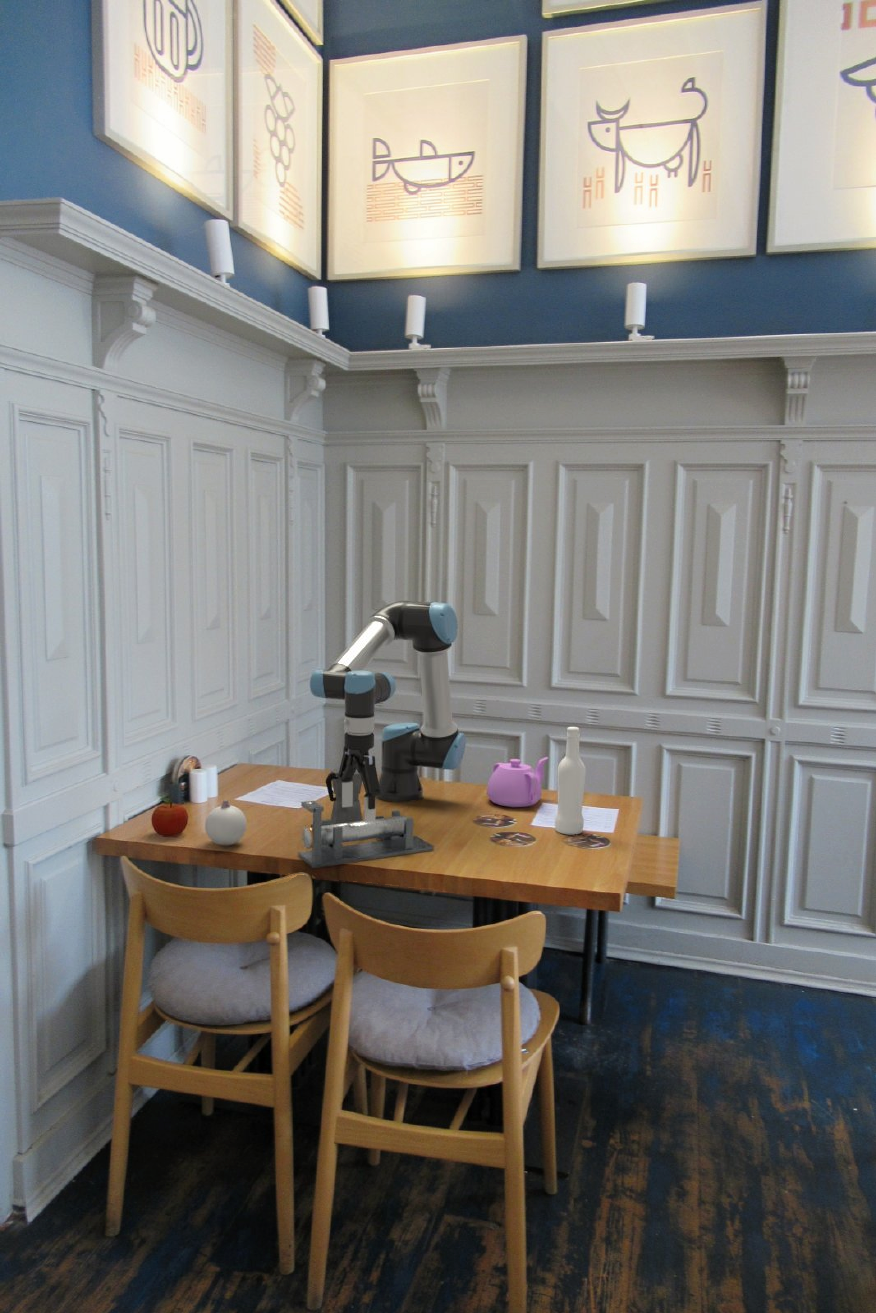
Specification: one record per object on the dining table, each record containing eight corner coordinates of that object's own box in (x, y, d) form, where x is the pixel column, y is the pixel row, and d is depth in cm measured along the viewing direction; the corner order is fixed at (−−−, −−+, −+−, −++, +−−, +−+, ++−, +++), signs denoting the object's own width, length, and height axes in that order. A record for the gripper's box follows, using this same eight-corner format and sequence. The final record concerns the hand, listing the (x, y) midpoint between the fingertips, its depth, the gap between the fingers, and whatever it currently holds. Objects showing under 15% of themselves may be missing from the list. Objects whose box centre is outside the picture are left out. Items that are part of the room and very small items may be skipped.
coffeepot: (348, 814, 281) (350, 754, 278) (373, 820, 275) (375, 759, 273) (313, 825, 268) (314, 763, 266) (338, 832, 263) (339, 768, 261)
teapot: (568, 805, 298) (570, 762, 296) (514, 815, 285) (516, 769, 284) (523, 789, 316) (525, 749, 314) (471, 797, 303) (472, 755, 302)
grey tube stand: (415, 839, 258) (417, 785, 257) (434, 850, 249) (436, 794, 248) (295, 856, 241) (296, 798, 239) (311, 869, 232) (312, 808, 231)
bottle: (585, 829, 273) (590, 726, 269) (580, 836, 265) (585, 731, 262) (557, 825, 275) (562, 723, 272) (551, 833, 268) (556, 728, 264)
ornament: (226, 852, 242) (226, 807, 241) (197, 845, 248) (197, 800, 246) (254, 842, 251) (254, 798, 250) (225, 835, 256) (225, 792, 255)
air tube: (401, 834, 253) (400, 814, 253) (410, 835, 248) (409, 815, 249) (302, 847, 239) (301, 826, 239) (310, 849, 235) (309, 828, 235)
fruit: (174, 841, 250) (174, 804, 249) (144, 837, 253) (144, 800, 252) (195, 832, 259) (195, 796, 258) (166, 827, 262) (166, 792, 261)
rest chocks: (381, 833, 263) (382, 815, 262) (394, 840, 256) (394, 822, 256) (310, 842, 253) (311, 824, 252) (321, 851, 246) (322, 832, 245)
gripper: (326, 724, 249) (325, 802, 252) (367, 743, 228) (365, 829, 231) (352, 721, 253) (351, 799, 256) (394, 740, 232) (393, 825, 234)
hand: (358, 813), depth 243 cm, fingers open, 13 cm apart
